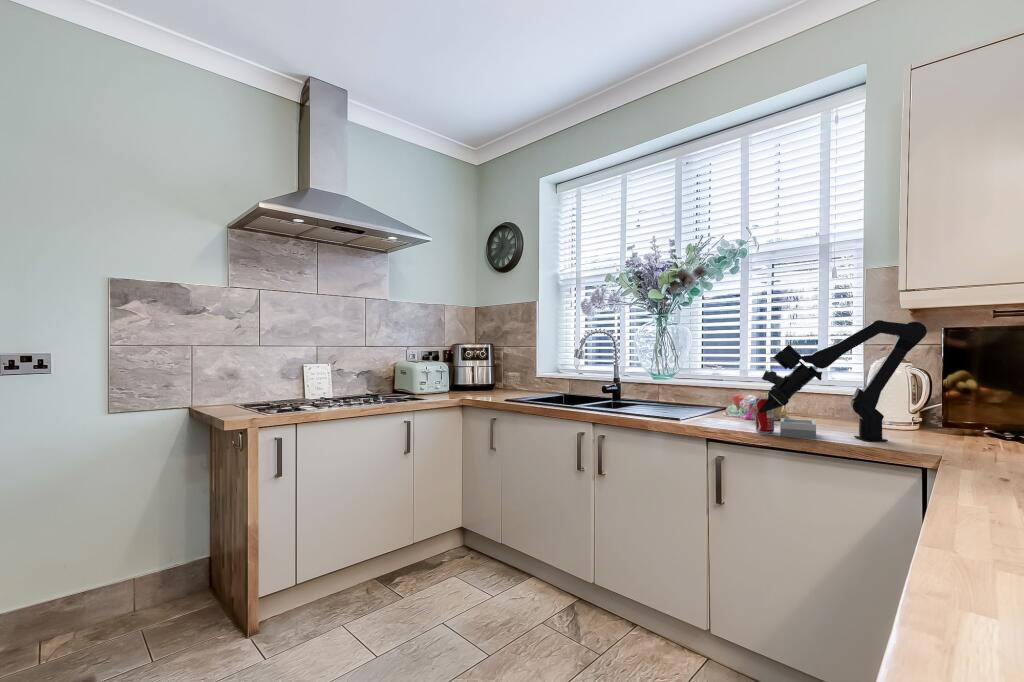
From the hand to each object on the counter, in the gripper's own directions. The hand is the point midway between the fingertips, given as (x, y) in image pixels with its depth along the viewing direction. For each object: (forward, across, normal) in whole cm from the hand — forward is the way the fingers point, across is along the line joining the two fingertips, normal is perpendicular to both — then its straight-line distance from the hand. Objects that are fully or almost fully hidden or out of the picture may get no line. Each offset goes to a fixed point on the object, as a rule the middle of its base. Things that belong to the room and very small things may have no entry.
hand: (760, 410), depth 171 cm
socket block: (-3, +1, +13) cm, 13 cm away
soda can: (+4, 0, +6) cm, 7 cm away
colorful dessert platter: (+8, -39, +2) cm, 40 cm away
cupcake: (+6, -21, +5) cm, 22 cm away
